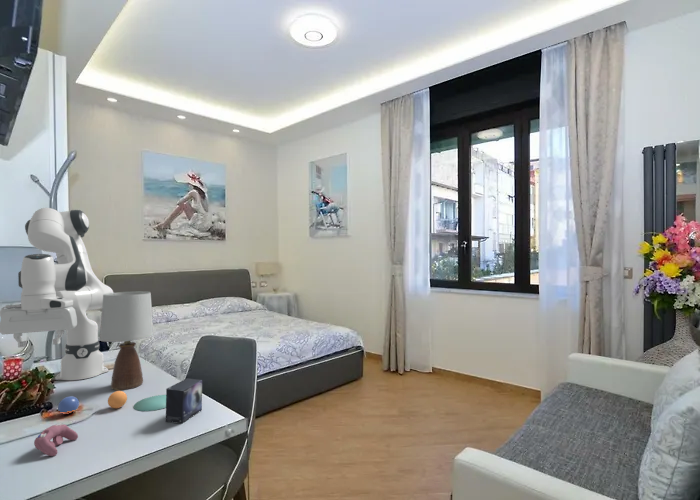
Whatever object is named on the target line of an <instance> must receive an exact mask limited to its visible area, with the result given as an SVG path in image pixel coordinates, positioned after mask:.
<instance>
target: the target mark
mask: <svg viewBox="0 0 700 500" xmlns="http://www.w3.org/2000/svg"><path fill="white" fill-rule="evenodd" d="M133 409H134V410H136V411H140V412H153V411H159V410H160V411H161V410H163V409H166V394H161V395H159V394H158V395H154V396H149V397H146V398H142V399H140V400H138V401H137V402H136V403H134V405H133Z"/></svg>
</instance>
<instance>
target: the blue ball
mask: <svg viewBox="0 0 700 500" xmlns="http://www.w3.org/2000/svg"><path fill="white" fill-rule="evenodd" d="M79 406H80V401H79V399H78V398H77V397H76V396H73V395H71V396H65V397H64V398H62V399H61V400H59V403H58V405H57V410H58V412H59V411H60V412H67V411H72V410H76V409H79ZM76 411H77V410H76ZM60 412H59V413H60Z"/></svg>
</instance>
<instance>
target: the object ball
mask: <svg viewBox="0 0 700 500" xmlns="http://www.w3.org/2000/svg"><path fill="white" fill-rule="evenodd" d="M127 400H128V395H127V393H125V391H124V390H123V391H122V390H115V391H114V392H112V393H111V394H110V395H109V396H108V398H107V403H108V406H109V407H110V408H112V409H120V408H121V407H123V406H124V405H125V404H126V403H127Z"/></svg>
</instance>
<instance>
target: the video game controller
mask: <svg viewBox="0 0 700 500" xmlns="http://www.w3.org/2000/svg"><path fill="white" fill-rule="evenodd" d="M64 438H65V439H67V440H68V441H69V440H70V441H76V440H77V439H78V438H79V435H78V433H77V432H76V431H75V430H73V429H71V428H70V427H69V426H68V425H67V424H64V423H61V422H60V423H57V424H55V425H51V426H49V427H46V428H45V429H44V430H42V432H41V433H39V434H38V436H37V437H35V439H34V443H33V444H34V447H35V449H37V450H39V451H40V452H41V453H42V454H44V455H46V456H49V457H55V456H57V455H58V449H57V447H58V446H60V445H61V444H63V443H64Z"/></svg>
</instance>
